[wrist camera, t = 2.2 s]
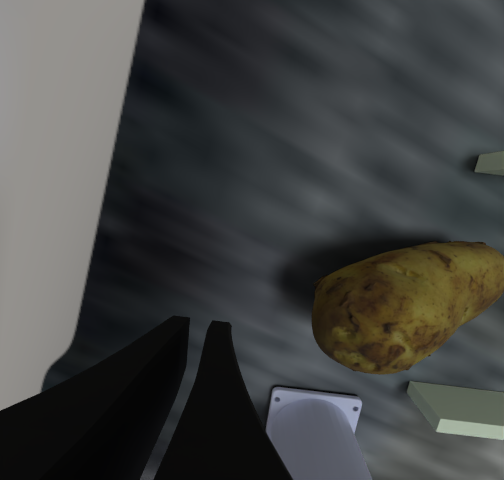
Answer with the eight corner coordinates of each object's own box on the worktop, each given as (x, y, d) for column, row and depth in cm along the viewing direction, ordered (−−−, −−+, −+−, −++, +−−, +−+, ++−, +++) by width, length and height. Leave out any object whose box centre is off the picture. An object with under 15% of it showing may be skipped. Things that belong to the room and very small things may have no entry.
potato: (442, 332, 20) (566, 426, 12) (291, 316, 20) (315, 399, 12) (472, 237, 18) (639, 271, 10) (306, 218, 18) (346, 240, 10)
